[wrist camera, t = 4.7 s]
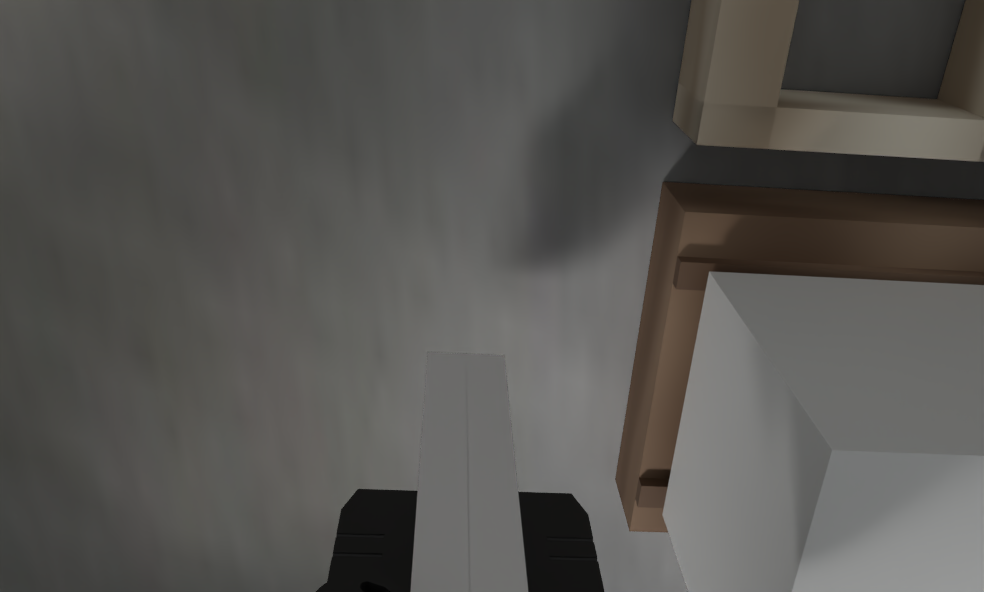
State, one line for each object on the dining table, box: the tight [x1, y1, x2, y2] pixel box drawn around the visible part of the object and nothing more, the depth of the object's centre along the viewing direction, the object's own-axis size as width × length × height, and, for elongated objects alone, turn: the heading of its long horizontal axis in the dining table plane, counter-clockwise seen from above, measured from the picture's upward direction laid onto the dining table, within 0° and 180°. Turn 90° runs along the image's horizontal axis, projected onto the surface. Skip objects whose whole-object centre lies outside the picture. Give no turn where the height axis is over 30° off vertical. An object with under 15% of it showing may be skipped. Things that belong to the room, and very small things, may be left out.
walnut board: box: [615, 182, 984, 532], centre depth 20 cm, size 15×8×2 cm, turn 86°
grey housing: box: [662, 271, 984, 592], centre depth 15 cm, size 7×6×6 cm
